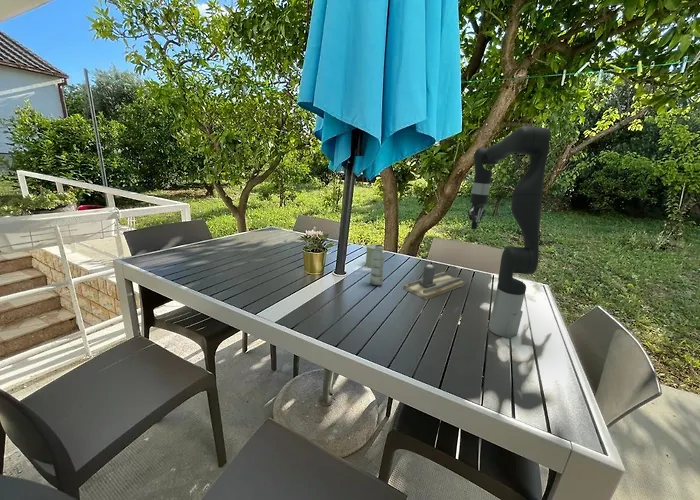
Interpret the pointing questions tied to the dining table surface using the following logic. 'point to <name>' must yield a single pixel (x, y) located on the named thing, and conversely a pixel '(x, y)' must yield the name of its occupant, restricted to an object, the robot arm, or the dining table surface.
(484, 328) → the dining table surface
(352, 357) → the dining table surface
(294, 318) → the dining table surface
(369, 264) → the can
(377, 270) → the plastic bottle
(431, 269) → the fader tab
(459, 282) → the wooden tray
